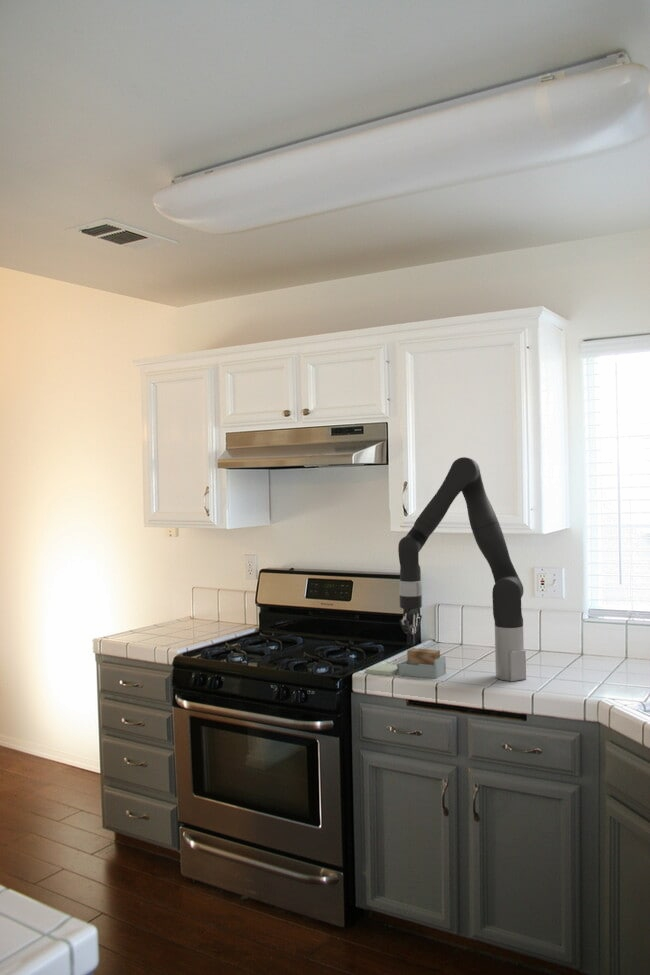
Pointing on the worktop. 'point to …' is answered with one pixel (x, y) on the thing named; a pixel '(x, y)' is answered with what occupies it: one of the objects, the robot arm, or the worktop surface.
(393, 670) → the plate
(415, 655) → the walnut bar
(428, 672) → the pale blue tray
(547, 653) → the worktop surface
